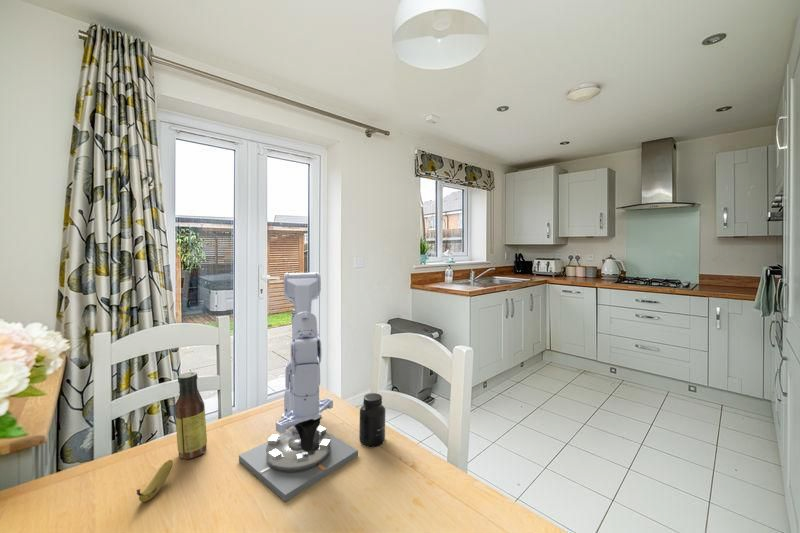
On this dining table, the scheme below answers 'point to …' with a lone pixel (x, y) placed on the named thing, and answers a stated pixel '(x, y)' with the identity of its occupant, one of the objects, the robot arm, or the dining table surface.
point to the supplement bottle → (372, 421)
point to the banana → (156, 482)
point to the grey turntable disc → (297, 451)
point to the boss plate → (296, 482)
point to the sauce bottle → (190, 418)
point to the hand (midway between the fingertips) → (306, 449)
